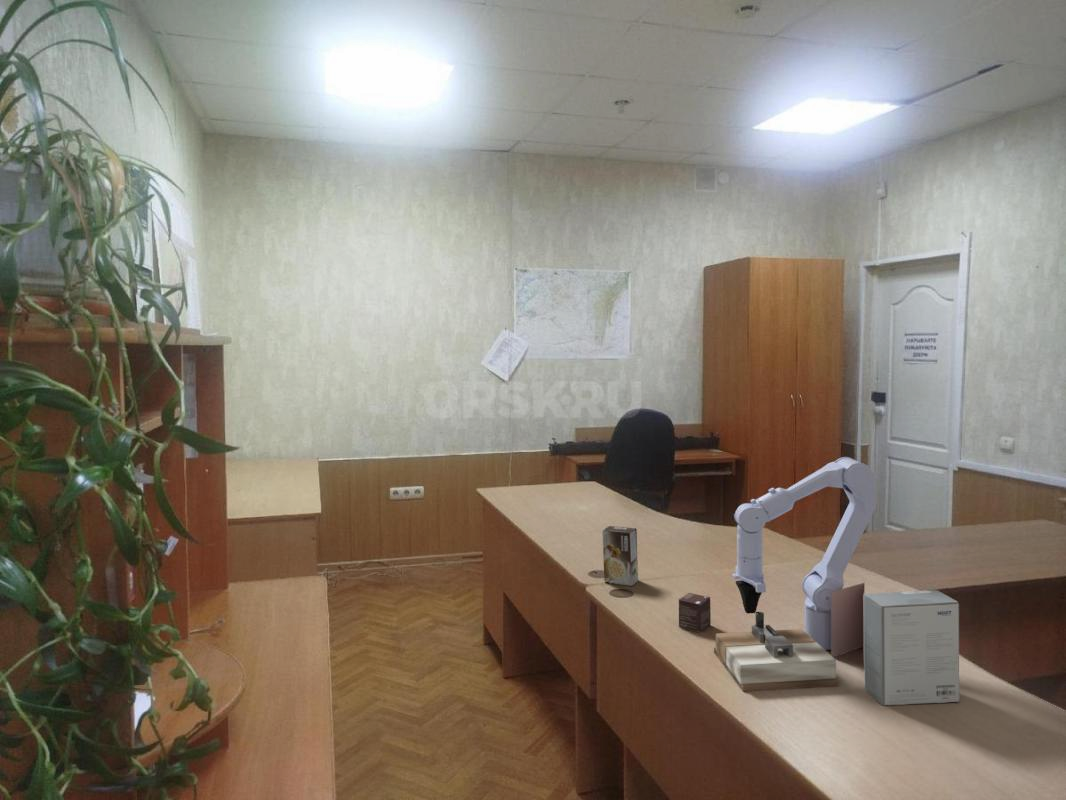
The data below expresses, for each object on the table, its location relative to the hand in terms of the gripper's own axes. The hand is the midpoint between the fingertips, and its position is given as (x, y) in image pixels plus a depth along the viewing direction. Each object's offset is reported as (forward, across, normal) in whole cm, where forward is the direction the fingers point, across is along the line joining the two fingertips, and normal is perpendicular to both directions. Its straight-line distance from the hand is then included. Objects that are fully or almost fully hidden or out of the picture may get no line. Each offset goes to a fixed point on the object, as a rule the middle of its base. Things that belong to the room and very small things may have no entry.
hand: (750, 612), depth 169 cm
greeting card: (+8, +10, +21) cm, 25 cm away
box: (+8, -12, -10) cm, 17 cm away
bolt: (+2, +8, 0) cm, 9 cm away
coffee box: (+8, -49, -22) cm, 54 cm away
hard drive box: (+8, +28, +22) cm, 37 cm away
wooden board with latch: (+7, +13, 0) cm, 15 cm away
